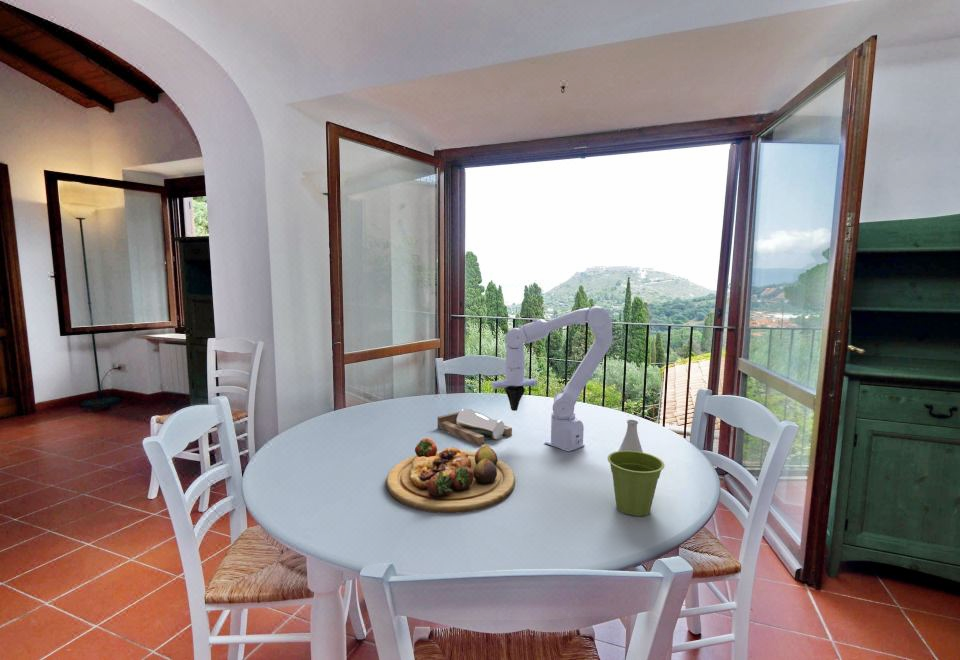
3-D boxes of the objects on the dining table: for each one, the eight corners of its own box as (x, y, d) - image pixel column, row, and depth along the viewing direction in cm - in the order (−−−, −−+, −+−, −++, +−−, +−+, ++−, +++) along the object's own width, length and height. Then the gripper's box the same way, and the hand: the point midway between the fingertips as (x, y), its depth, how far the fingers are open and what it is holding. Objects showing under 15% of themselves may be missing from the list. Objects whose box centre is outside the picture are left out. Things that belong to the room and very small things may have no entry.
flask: (615, 456, 134) (617, 422, 133) (620, 448, 141) (622, 416, 140) (641, 460, 131) (643, 426, 130) (645, 452, 137) (647, 419, 136)
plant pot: (595, 508, 103) (597, 459, 102) (622, 492, 112) (624, 446, 110) (646, 529, 95) (648, 476, 94) (671, 509, 103) (673, 460, 102)
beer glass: (505, 435, 150) (469, 423, 159) (505, 415, 148) (468, 404, 157) (493, 444, 145) (456, 431, 154) (492, 424, 143) (455, 412, 152)
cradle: (511, 435, 151) (512, 423, 151) (478, 445, 142) (478, 432, 141) (470, 420, 167) (470, 409, 166) (437, 428, 157) (437, 416, 157)
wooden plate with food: (377, 466, 126) (376, 437, 125) (486, 451, 137) (487, 423, 136) (400, 528, 96) (399, 490, 95) (537, 502, 108) (538, 468, 106)
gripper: (497, 370, 138) (496, 415, 139) (541, 368, 142) (540, 411, 144) (489, 366, 144) (488, 408, 146) (532, 364, 149) (531, 405, 151)
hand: (513, 409), depth 145 cm, fingers closed
